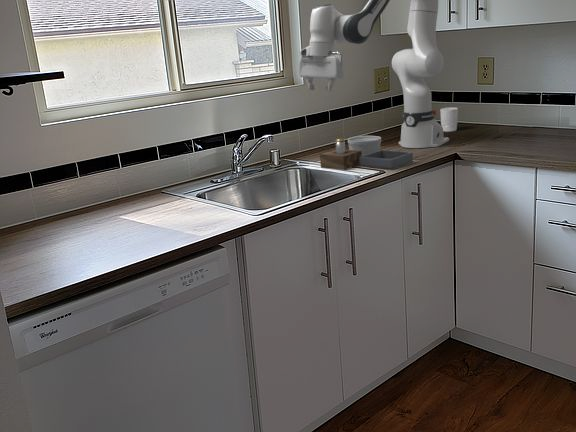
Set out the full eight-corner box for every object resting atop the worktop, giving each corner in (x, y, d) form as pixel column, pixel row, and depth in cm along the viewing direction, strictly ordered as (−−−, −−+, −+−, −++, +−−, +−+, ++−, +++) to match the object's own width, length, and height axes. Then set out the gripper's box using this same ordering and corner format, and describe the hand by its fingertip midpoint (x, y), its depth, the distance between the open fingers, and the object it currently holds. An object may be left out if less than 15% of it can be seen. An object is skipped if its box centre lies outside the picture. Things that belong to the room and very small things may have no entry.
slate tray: (381, 158, 243) (381, 149, 242) (412, 161, 234) (412, 152, 233) (359, 166, 234) (359, 156, 233) (391, 169, 224) (391, 160, 223)
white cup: (438, 132, 290) (438, 110, 287) (442, 129, 297) (441, 107, 294) (456, 131, 287) (456, 109, 284) (459, 128, 294) (459, 107, 291)
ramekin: (370, 150, 260) (369, 134, 259) (388, 155, 249) (387, 137, 247) (342, 155, 255) (341, 138, 253) (359, 160, 244) (358, 142, 242)
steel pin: (340, 164, 239) (339, 138, 237) (347, 165, 237) (346, 138, 234) (335, 166, 237) (333, 139, 234) (342, 167, 235) (340, 140, 232)
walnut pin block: (339, 161, 245) (338, 148, 243) (362, 163, 237) (361, 150, 236) (320, 167, 237) (319, 154, 236) (343, 170, 230) (343, 156, 228)
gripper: (348, 51, 221) (346, 92, 224) (309, 52, 236) (308, 89, 239) (335, 51, 217) (333, 92, 220) (296, 51, 232) (295, 89, 235)
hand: (320, 90), depth 230 cm, fingers open, 8 cm apart
